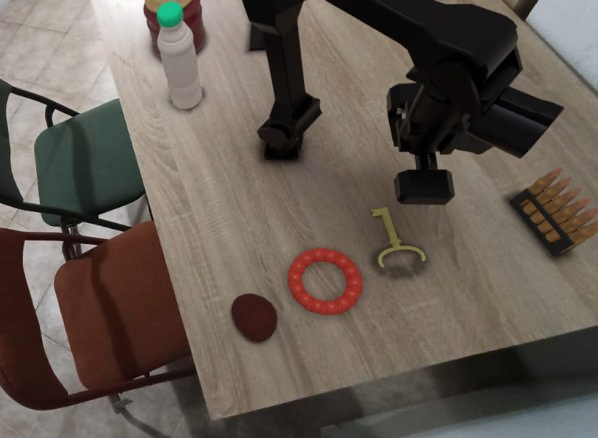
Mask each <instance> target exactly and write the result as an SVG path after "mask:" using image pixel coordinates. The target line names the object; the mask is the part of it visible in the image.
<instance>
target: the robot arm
mask: <svg viewBox="0 0 598 438" xmlns="http://www.w3.org/2000/svg"><path fill="white" fill-rule="evenodd" d="M306 1H307V0H241V2H242V5H243V8H244V11H245V14H246V17H247V20H248V22H249V23H251V25H252V24H253V25H255V26H256V27H257V28H259V29H260V30H261V31H262V33H263V38H264V43H265V49H266V50H265V53H266V54H265V55H266V58H267V65H268V69H269V75H270V80H271V86H272V91H273V97H274V101H273V104H272V106H271V108H270V113H269V115H268V118H267V119H266V121H265V122H263V124H262V125H260V126H259V128H258V129H257V130H256V133H257V136H258V138H259V139H261V140H262V141H264V152H263V158H264V160H266V161H269V160H270V161H297V160H298V159H299V151H301V150H302V147H303V141H304V134H305V132H306V131H308V129H309V128H310V127H311V126H312V125H313V124H314V123H315V122H316V121H317V120H318V118H319V117H320V116H322V114H323V111H322V109H321V98H318V97H314V96H313V95H312V94H310V93H309V92H307V90H306V85H305V84H306V83H305V76H304V75H305V74H304V66H303V58H302V49H301V40H300V31H299V24H298V23H299V22H298V21H299V16H300V14H301V11H302V8H303V5H304V2H306ZM324 1H325V2H326V3H329V4H330V5H332V6H333V7H335V8H337V9H338V10H340V11H342V12H344V13H346V15H347V14H348V16H350V17H352V18H354V19H355V20H358V21H359V22H361V23H363V24H365V25H366V26H368V27H369V28H372V29H373V30H375V31H377V32H378V33H380V34H382V35H383V36H385V37H387V38H389V39H390V40H392V41H394V42H395V43H396V44H397V43H398V44H399V45H400V46H401V47H403V48H404V49H405V50H406V51H407V53H408V55H409V57H410V60H411V62H412V64H413V66H412V67H411V68H410V70H408V72H407V73H406V74H405V78H406V79H408V80H409V81H411V82H402V83H401V82H400V83H396V84H395V85H393V86H391V87H390V88H389V89H388V91H387V93H386V96H385V98H386V115H387V121H388V126H389V131H390V134H391V141H392V144H393V147H394V148H398V153H408V154H410V155H412V156H414V162H415V168H414V169H409V168H408V169H405V170H402V171H400V172H397V174H396V176H395V178H393V184H394V195H395V198H396V202H397V203H399V204H400V205H405V206H406V205H408V206H413V205H414V206H446V205H447V204H448V203H450V202H451V200H453V198H455V196H456V192H455V186H454V179H453V172H452V171H450V170H448V169H445V168H443V169H440V168H439V166H438V157H437V153H439V155H441V156H451V155H452V153H453V152H454V150H456V151H461V152H466V153H472V154H473V155H476V156H477V155H482V154H484V153H486V152H488V151H490V150H491V149H493V148H495V149H498V150H500V151H502V152H505V153H506V154H508V155H510V156H513V157H515V158H517V159H519V160H521V159H522V158H524V156H525V155H527V154H528V152H530V151H531V150H532V148H533V147H534V146H535V145H536V144H537V142H538V141H539V140H540V139H541V137H542V136H544V134H545V133H546V131H547V130H548V129H549V128H550V127H551V126H552V125H553V123H554V122H555V121H556V120H557V119H558V118H559V116H560V115H561V114H562V113H563V111H564V110H565V107H564V106H563V105H560V104H558V103H556V102H553V101H549V100H546V99H542V98H539V97H538V96H537V97H536V96H535V95H532V94H530V93H527V92H525V91H521V90H520V89H517V88H514V87H512V86H511V85H512V83H513V82H514V81H515V80H516V79H517V78H518V76H519V75H520V74H521V73H522V72H523V70H524V67H523V63H522V59H521V55H520V52H519V49H518V41H519V35H518V30H516V29H517V25H518V24H517V23H516V22H515V21H514V20H513V19H511V18H510V17H509V16H508V15H505V14H503V13H500V12H497V11H494V10H491V9H488V8H487V7H486V8H485V7H483V6H480V5H477V4H474V3H444V2H441V1H438V0H324ZM515 23H516V24H517V25H516V24H515Z"/></svg>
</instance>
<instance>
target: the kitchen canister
mask: <svg viewBox="0 0 598 438" xmlns="http://www.w3.org/2000/svg"><path fill="white" fill-rule="evenodd" d="M170 1H175V2H177V3H179V4H180V5H181V7H182V9H183V21H184V22H185V24H186V25H187V26H188V27H189V28H190V29H191V31H192V33H193V43H194V47H195V52H196V54H198V53H199V52H200V50H202V48H203V46H204V44H205V38H206V28H205V25H204V21H203V20H204V19H203V7H202V4H201V0H144V3H143V8H142V11H143V15H144V17H145V18H146V26H147V28H148V31H149V34H150V38H151V45H152V48H153V50H154V52H155V54H156V55H157V56H158V57H159V58H160V59H161V54H160V50H159V48H158V44H157V40H158V36H159V33H160V28H161V26H160V24H159V22H158V19H157V11H158V8H159V7H160V6H161V5H162V4H164V3H166V2H170Z"/></svg>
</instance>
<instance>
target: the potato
mask: <svg viewBox="0 0 598 438" xmlns="http://www.w3.org/2000/svg"><path fill="white" fill-rule="evenodd" d="M230 310H231V312H230V313H231V317H232V320H233V322H234V325H235V326H236V328H237V329H238V330H239V332H240V333H242V335H243V336H244V337H245V338H247V339H248V340H250V341H251V342H254V343H262V342H265V341H267V340H268V339H269V338H271V337H272V336H273V334H274V332H275V331H276V329H277V325H278V321H279V318H278V313H277V309H276V308H275V306H274V305H273V303H272V302H271V301H270V300H268V299H267V298H266V297H264V296H262V295H259V294H256V293H252V292H250V293H242V294H241V295H239V296H237V297H236V298H235V299H234V300H233V301H232V304H231V308H230Z"/></svg>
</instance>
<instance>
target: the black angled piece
mask: <svg viewBox="0 0 598 438" xmlns="http://www.w3.org/2000/svg"><path fill="white" fill-rule="evenodd" d="M249 37H250V38H249V52H253V51H255V52H256V51H266V49H265V43H264V38H263V33H262V31H261V30H260V29H259V28H257V27H256V26H255V25H253V24H252V23H251V27H250V36H249Z"/></svg>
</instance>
